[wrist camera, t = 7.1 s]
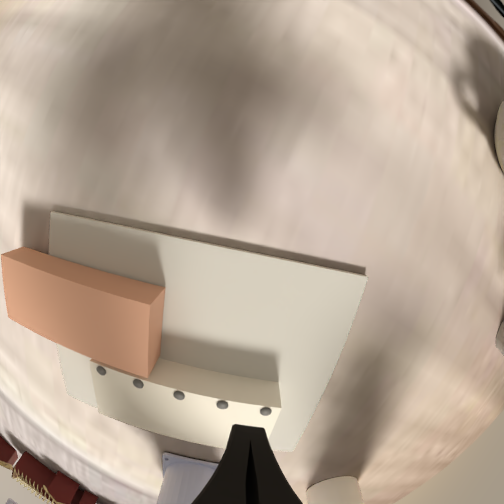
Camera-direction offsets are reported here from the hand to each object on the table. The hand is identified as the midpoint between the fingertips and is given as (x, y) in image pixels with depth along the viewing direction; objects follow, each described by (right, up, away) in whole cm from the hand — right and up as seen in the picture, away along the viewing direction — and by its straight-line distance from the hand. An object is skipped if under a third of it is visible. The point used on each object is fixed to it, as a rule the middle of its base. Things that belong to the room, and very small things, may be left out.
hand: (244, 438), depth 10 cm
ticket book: (-5, -3, +10) cm, 12 cm away
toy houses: (-40, -43, +20) cm, 62 cm away
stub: (-13, +5, +9) cm, 16 cm away
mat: (-5, 0, +10) cm, 11 cm away
